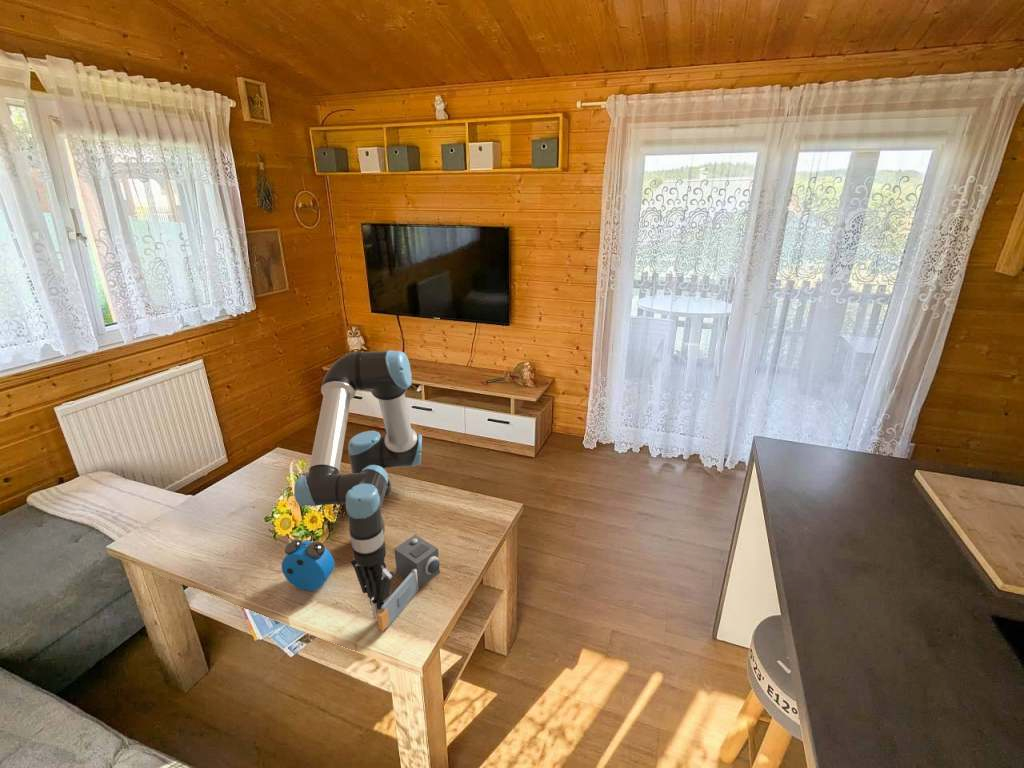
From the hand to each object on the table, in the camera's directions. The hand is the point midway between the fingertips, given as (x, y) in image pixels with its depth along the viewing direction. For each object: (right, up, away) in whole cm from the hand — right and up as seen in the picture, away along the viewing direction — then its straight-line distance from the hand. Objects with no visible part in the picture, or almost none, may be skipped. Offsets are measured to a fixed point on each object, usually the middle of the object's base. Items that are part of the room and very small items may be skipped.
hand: (378, 615), depth 126 cm
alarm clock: (-23, +3, +13) cm, 27 cm away
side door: (+5, 0, +4) cm, 6 cm away
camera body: (+7, +5, +17) cm, 19 cm away
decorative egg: (-11, +9, +28) cm, 32 cm away
